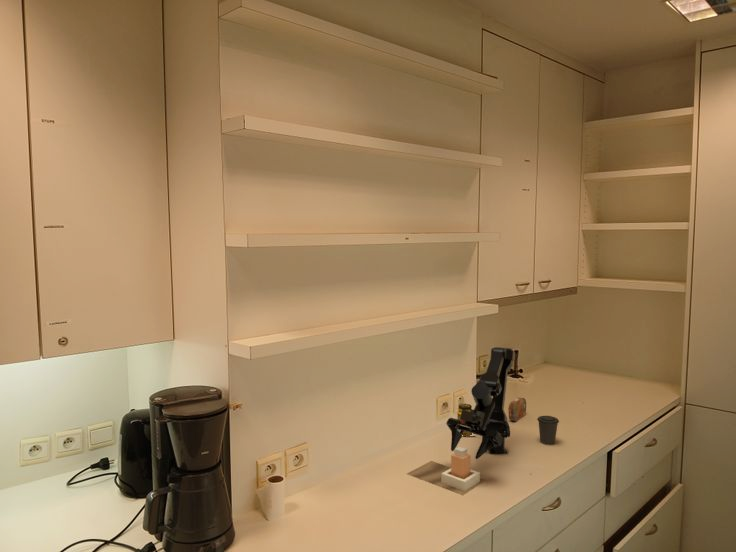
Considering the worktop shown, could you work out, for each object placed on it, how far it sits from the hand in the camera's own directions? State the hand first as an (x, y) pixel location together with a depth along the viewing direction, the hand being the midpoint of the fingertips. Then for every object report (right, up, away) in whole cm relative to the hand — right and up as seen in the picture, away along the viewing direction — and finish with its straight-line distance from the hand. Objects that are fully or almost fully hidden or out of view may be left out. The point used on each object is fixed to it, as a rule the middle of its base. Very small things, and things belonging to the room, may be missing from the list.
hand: (463, 454), depth 173 cm
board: (-5, -10, +3) cm, 11 cm away
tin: (+35, -5, +63) cm, 72 cm away
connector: (-1, -9, -1) cm, 9 cm away
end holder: (-1, -9, -1) cm, 9 cm away
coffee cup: (+39, -7, +35) cm, 53 cm away
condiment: (+9, -7, +45) cm, 46 cm away
